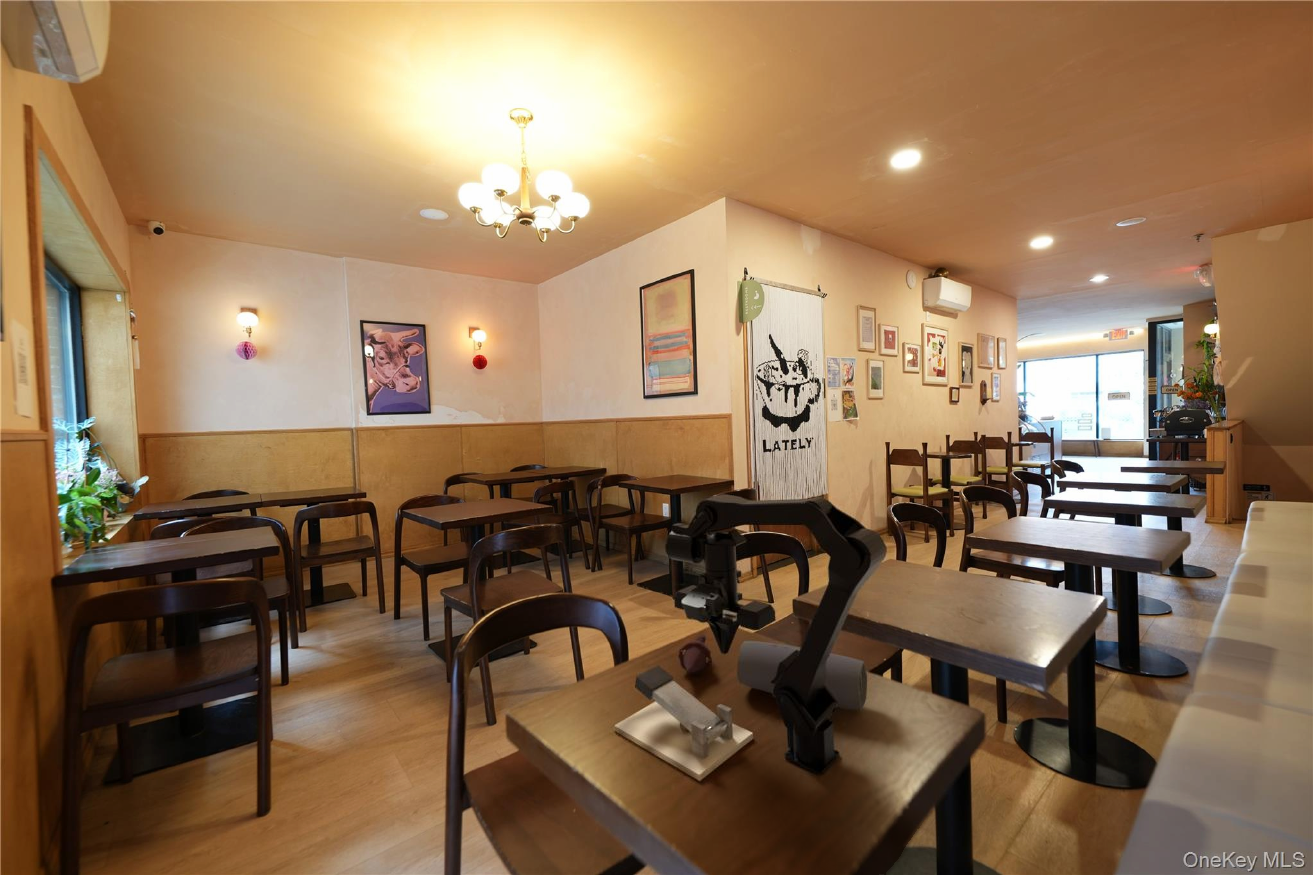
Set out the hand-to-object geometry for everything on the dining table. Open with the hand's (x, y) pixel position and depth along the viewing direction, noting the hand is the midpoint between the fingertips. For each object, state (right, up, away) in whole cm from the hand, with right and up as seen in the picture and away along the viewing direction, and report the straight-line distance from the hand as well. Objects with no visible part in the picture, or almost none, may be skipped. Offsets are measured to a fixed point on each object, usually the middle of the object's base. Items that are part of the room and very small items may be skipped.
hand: (724, 652), depth 97 cm
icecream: (-4, -12, +20) cm, 24 cm away
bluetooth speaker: (+16, -12, +7) cm, 21 cm away
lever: (-8, -9, -2) cm, 12 cm away
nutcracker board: (-8, -14, -2) cm, 16 cm away
